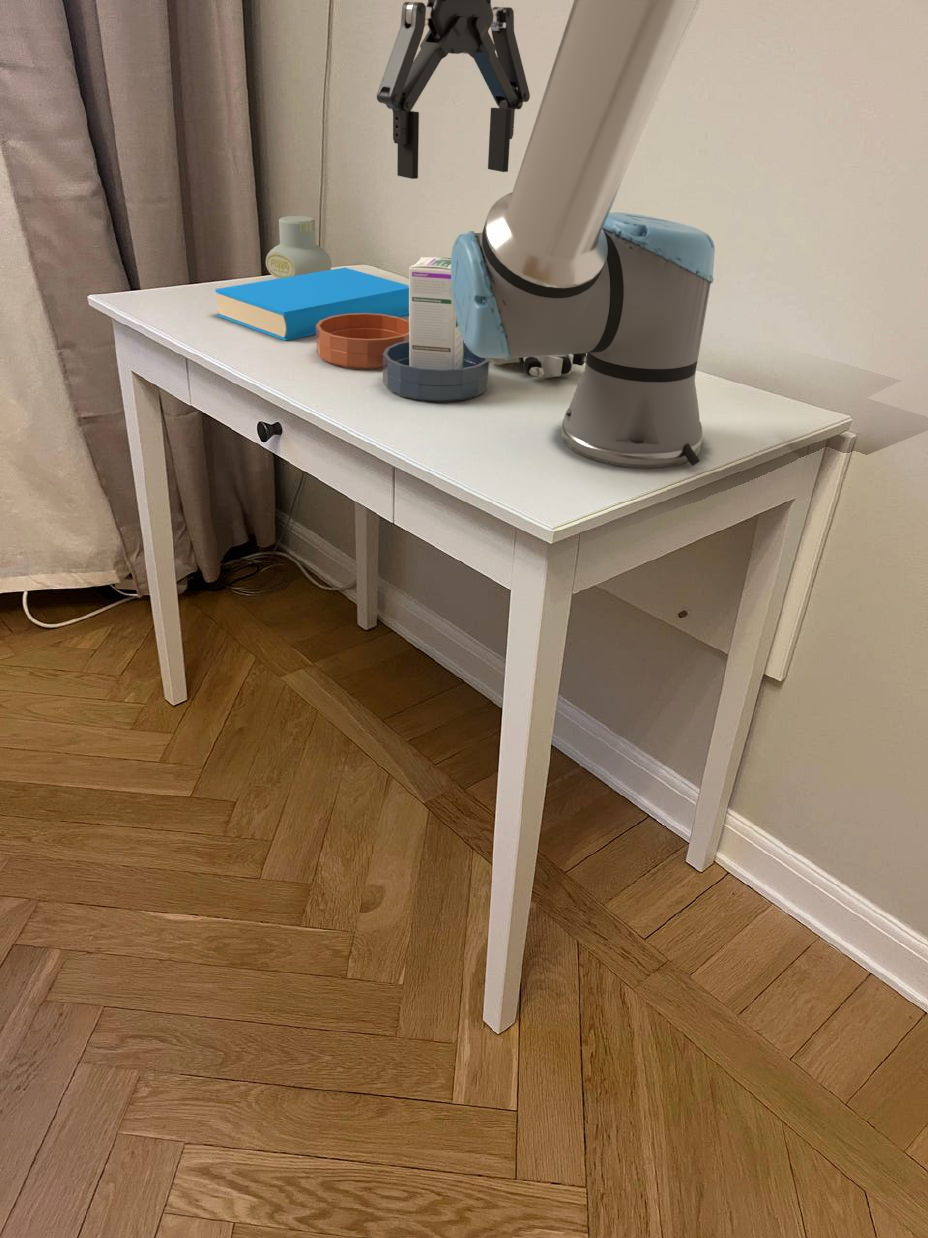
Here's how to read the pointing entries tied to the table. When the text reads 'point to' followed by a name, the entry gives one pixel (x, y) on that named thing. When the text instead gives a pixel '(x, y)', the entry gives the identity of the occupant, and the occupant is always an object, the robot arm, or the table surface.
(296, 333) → the book
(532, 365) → the robot toy
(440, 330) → the syrup box
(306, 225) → the air freshener
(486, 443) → the table surface
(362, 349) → the terracotta bowl
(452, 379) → the slate bowl
